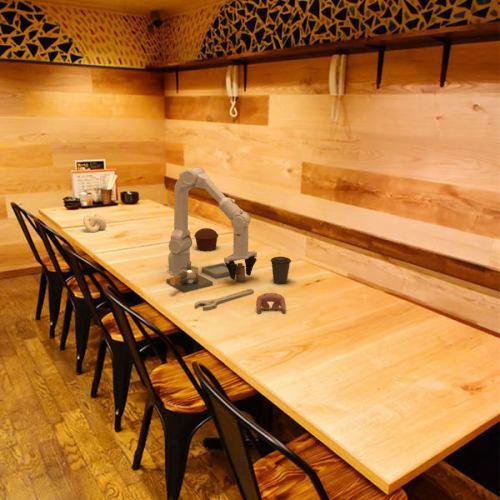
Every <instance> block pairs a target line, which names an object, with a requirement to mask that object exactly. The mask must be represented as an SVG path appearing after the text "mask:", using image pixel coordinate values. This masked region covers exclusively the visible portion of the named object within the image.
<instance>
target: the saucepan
mask: <svg viewBox="0 0 500 500" xmlns="http://www.w3.org/2000/svg"><path fill="white" fill-rule="evenodd" d="M198 275H199V268H198V267H196V266H192V261H191V260H190V261H187V267H182V268H181V269H180V274H178V275H177V276H175V275H174V277H171V278H172V279H170V278H169V279H170V284H171V285H175V284H177V283H178V282H180V281H181V282H183V283H195V282H197V281H198V280H199V278H198ZM171 285H170V286H171Z"/></svg>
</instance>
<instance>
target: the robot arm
mask: <svg viewBox="0 0 500 500" xmlns="http://www.w3.org/2000/svg"><path fill="white" fill-rule="evenodd" d="M177 178H178V179H176V180H177V181H176V183H175V184H174V197H173V199H174V202H173V203H174V207H173V208H174V209H173V210H174V215H173V219H174V220H173V223H174V224H173V227H174V228H173V231H172V233H171V235H170V240H169V243H168V249H169V251H170V252H169V253H168V256H167V257H168V259H167V263H168V269H167V270H166V272H168V273H170V274H171V275H173V276H174V277H175V276H177V275H178V274H180V269H181V268H182V267H187V261H191V257H190V256H191V253H190V250H191V249H190V248H191V247H192V245H193V239H192V237H191V232H190V230H189V227H188V226H189V191H190V190H191V189H192V188H194V187H195V188H198V189H204V190H205V191H206V192H207V193H208V194H209V195H210V196H211V197H212V198H213V199H214V200H215V201H216V202H217V203H218V207H219V210H221V212H223V214H224V215H225V216H226V217H227V218H228V219H229V220H230V225H231V226H232V228H233V246H232V247H233V251H232V252H233V253H232V254H230V255H228V256H225V257H223V263H225V264H226V266H227V268H228V270H229V274H230V276H229V278H230V280H234V281H236V267H237V266H238V263H235V262H237V261H241V260H244V266H245V276H246V275H247V276H248V277H250V276H251V274H252V271H253V268H254V265H255V263H256V262H257V255H258V254H257V253H258V252H257V251H255V250H253V251H249V225H250V223H251V216H250V215H249V213H248V212H247V211H244V210H243V209H242V208H241V207H239V206H238V205H237V204H236V203H235V202H236V200H235V199H234V198H233V199H232V198H231V197H226V196H225V195H224V193H223V192H222V191H221V190H220V188H219V187H218V186H217V185H216V184H215V182H214V181H213V180H212V178H211V176H210V174H208V173H207V172H206V171H205V170H204V168H202V167H200V166H196V167H193V168H189V169H185V170H183V171H181V172H180V173H179V177H177Z"/></svg>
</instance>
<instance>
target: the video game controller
mask: <svg viewBox="0 0 500 500" xmlns="http://www.w3.org/2000/svg"><path fill="white" fill-rule="evenodd" d="M268 302H271V303H272V305H271V307H272V310H274V311H277V310H278V309H279V308H281V313H283V314H285V313H286V310H287V309H286V308H287V307H286V301H285V297H284V296H283V295H281V294H280V293H276V292H266V293H261V294H260V295H258V296H257V298H256V302H255V305H256V312H257V313H258V314H260V313H261V311H262V309H263V310H265V311H267V310H269V309H270V304H269V303H268Z"/></svg>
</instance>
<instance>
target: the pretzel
mask: <svg viewBox="0 0 500 500" xmlns="http://www.w3.org/2000/svg"><path fill="white" fill-rule="evenodd" d="M82 221H83V225H84V227H85V229H86V230H87V231H88V232H90V233H96V232H98V231H104V230H106V228H107V222H106V220H105V219H104V218H103V217H102V215H101V214H100V213H94V215H93V216H92V215H91V214H86V215H85V216H84V217H83V219H82Z"/></svg>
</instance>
